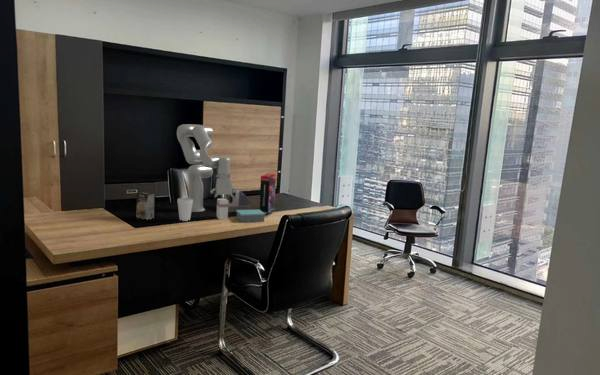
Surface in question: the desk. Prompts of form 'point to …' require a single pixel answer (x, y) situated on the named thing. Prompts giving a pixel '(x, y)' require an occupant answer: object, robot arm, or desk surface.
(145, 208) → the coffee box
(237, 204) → the instant camera
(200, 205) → the robot arm
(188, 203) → the foam cup
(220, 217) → the carton
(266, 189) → the graphics card box
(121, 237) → the desk surface
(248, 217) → the podium
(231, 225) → the desk surface
